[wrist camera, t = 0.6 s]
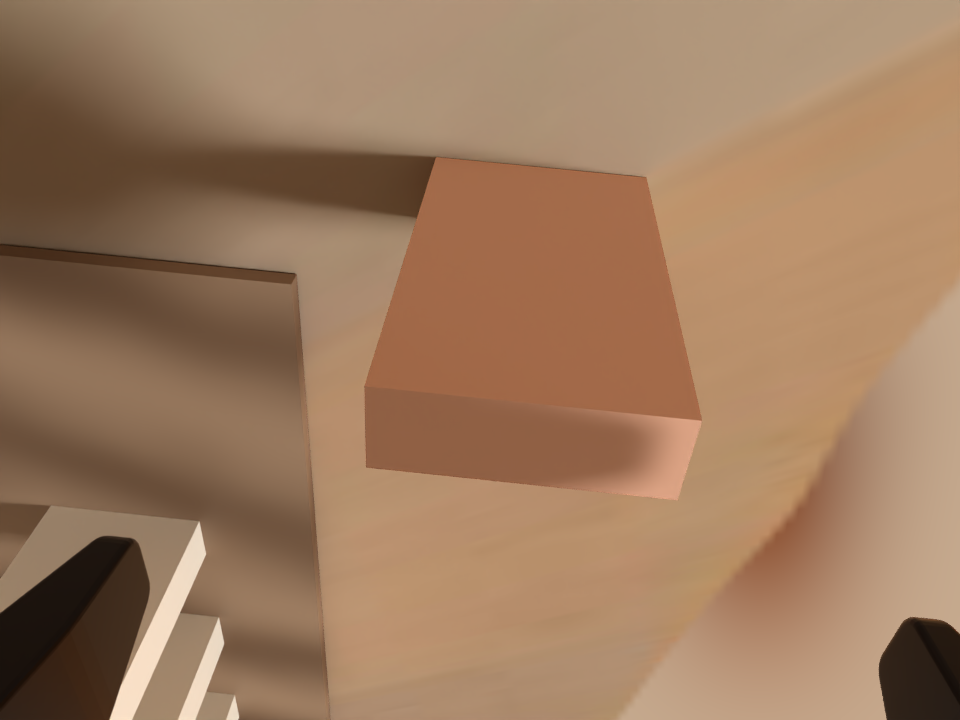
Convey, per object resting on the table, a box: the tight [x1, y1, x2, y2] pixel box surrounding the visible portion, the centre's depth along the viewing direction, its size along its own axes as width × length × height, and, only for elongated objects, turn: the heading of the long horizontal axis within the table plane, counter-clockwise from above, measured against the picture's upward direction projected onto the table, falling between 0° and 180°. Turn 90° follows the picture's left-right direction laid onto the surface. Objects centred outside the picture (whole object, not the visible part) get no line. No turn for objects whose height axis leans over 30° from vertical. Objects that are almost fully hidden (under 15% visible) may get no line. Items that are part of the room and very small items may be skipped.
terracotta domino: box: [364, 157, 702, 500], centre depth 15 cm, size 2×5×8 cm, turn 86°
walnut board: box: [0, 245, 330, 720], centre depth 29 cm, size 30×12×1 cm, turn 176°
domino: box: [0, 506, 206, 720], centre depth 22 cm, size 2×5×8 cm, turn 86°
